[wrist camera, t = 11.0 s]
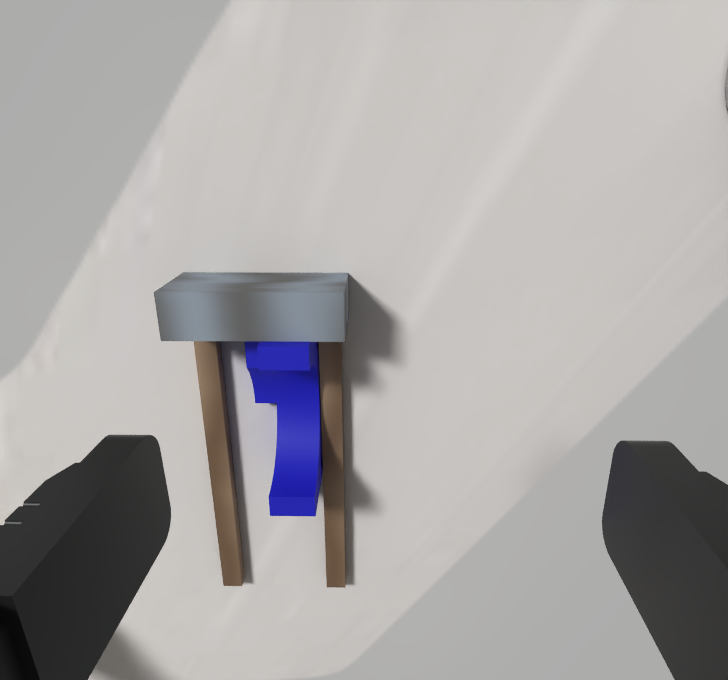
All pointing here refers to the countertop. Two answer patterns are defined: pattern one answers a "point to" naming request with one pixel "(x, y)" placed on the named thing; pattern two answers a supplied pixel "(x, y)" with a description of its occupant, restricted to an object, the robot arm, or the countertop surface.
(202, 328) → the guide channel
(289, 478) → the cable clip
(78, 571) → the robot arm
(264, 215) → the countertop surface
